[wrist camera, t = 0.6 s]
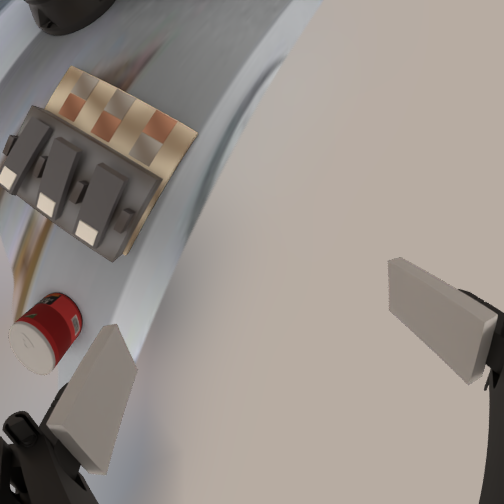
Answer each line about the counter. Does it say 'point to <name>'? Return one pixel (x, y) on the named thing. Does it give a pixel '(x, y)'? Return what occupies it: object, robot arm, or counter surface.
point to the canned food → (45, 333)
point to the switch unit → (107, 152)
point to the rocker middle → (57, 177)
